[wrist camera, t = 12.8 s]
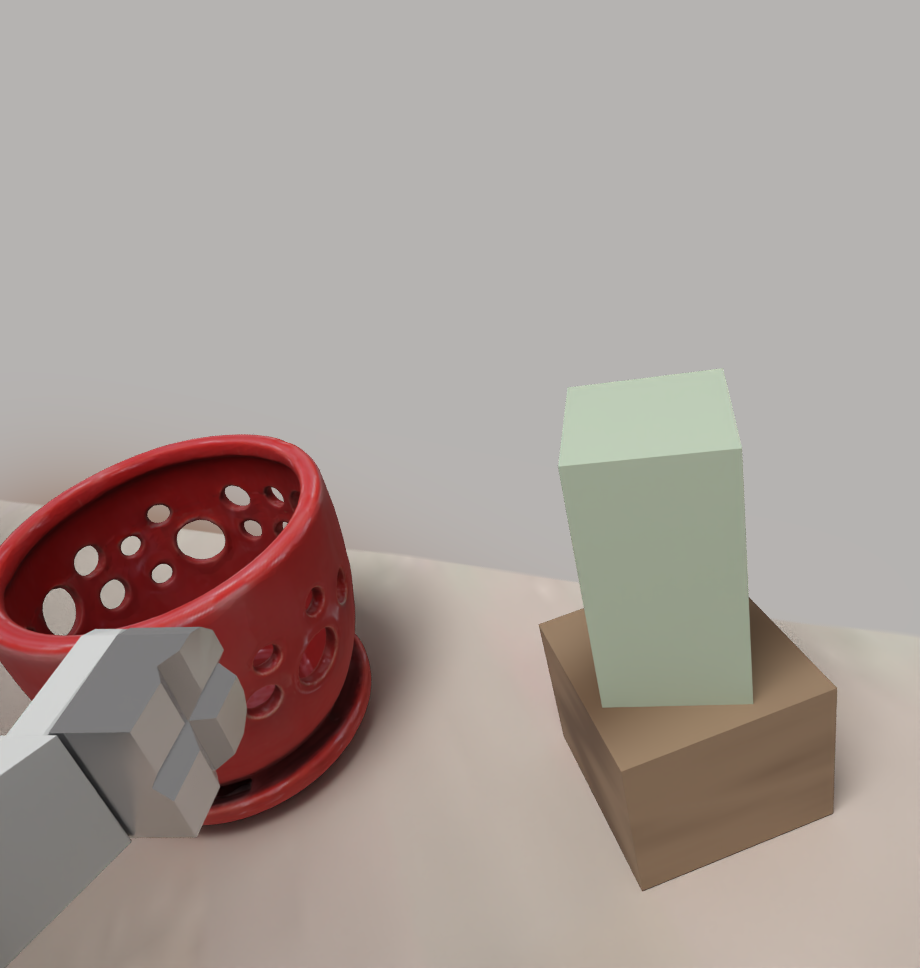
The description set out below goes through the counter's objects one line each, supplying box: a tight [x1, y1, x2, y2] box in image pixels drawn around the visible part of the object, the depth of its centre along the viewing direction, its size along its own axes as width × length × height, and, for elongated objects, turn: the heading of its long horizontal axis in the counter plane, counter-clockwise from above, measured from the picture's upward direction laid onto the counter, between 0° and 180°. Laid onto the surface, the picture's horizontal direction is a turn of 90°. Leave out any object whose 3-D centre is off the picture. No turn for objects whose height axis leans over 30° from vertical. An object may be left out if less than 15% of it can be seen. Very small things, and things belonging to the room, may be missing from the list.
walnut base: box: [539, 598, 837, 891], centre depth 28 cm, size 7×7×6 cm
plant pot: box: [0, 435, 371, 825], centre depth 33 cm, size 13×13×12 cm
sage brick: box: [558, 369, 753, 708], centre depth 24 cm, size 4×4×9 cm
